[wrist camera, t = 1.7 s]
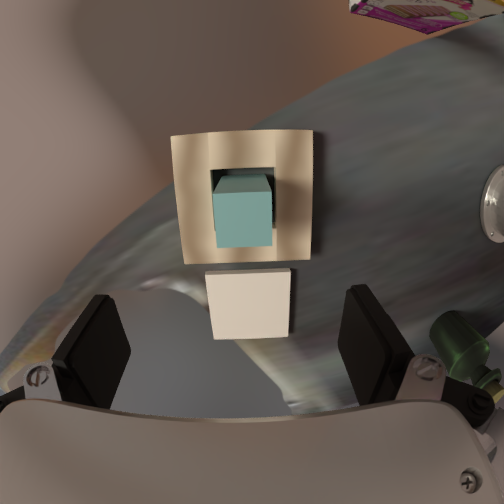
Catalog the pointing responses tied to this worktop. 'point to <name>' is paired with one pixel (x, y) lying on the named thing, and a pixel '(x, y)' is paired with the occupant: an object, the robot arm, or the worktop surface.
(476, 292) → the worktop surface
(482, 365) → the potion bottle
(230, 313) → the tile
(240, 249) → the pocket base
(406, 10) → the candy bar box
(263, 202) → the teal block
